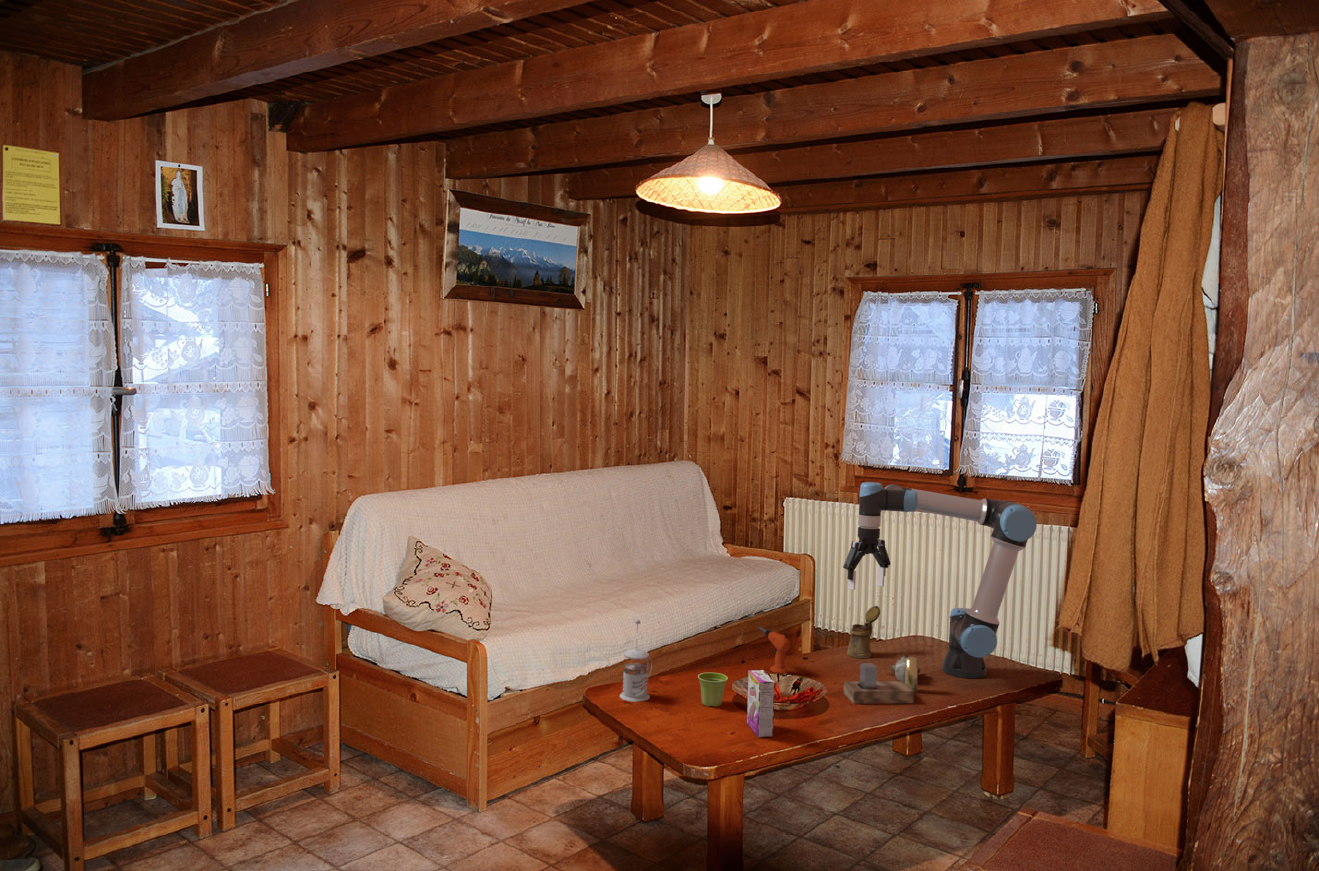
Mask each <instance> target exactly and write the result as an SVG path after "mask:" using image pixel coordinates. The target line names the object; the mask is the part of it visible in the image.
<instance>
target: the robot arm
mask: <svg viewBox="0 0 1319 871" xmlns="http://www.w3.org/2000/svg"><path fill="white" fill-rule="evenodd" d="M858 497H859V499H858V500H859V502H858V503H859V504H858V524H857V525H858V527H857V538H858V542H857V541H851V544H850V549H849V551H848V554H847V556H846V559H845V561H844V564H843V566H842V567H843V569H845V570H846V571H847V580H848V583H847V584H848V586H847V588H848V589H849V590H851V591H855V590H856V584H857V583H856V582H857V571H856V568H857V566H858V565H859V564H860V562H861V560H862V559H863V557H864V556H866V555H870V554H871V555H872V556H873V557H874V559H875V561H876V562H877V564H878V566H877V571H876V573H877V574H876V575H877V576H876V586H879V587H885V577H886V573H887V572H886V569H888V568H889V566H891V561H890V558H889V553H888V551H887V548H886V541H885V540H884V539H881V528H880V527H881V522H882V521H881V520H882V519H881V518H882V516H881V515H882V512H883V511H885V512H902V513H914V512H916V511H917V512H923V513H928V514H934V515H939V516H945V517H950V518H956V519H961V520H967V521H972V522H973V521H974V522H977V524H978V525H979V526H985V527H989V528H991V529H992V532H991V535H990V538H991V540H992V543H993V544H992V547H991V550H990V553H989V556H988V558H987V561H986V564H985V566H984V571H983V573H982V576H981V580H980V582H979V585H978V588H977V592H976V595H975V597H974V600H973V603H972V605H971V608H968V607H967V608H965V607H954V608H952V609H951V610H950V614H949V630H948V631H949V632H948V633H949V634H948V635H949V636H948V647H947V648H948V649H947V651H946V654H945V657H944V659H943V661H942V665H941V666H942V668H941V669H942V671H943V672H944V673H945V674H948V675H951V676H954V677H958V678H963V679H964V678H965V679H981V678H984V677H985V676H987V666H986V663H985V658H986V657H987V656H989V655H991V654H992V653H994V651H995V650H996V648H997V645H998V637H997V632H998V629H999V626H1000V624H1001V623H1000V621H999V619H998V615H999V611H1000V608H1001V605H1002V602H1003V599H1004V597H1005V593H1006V590H1007V587H1008V585H1009V582H1010V579H1011V577H1012V572H1013V571H1014V567H1015V564H1016V561H1017V558H1018V556H1019V552H1020V551H1021V550H1024V549H1025V548H1026V546H1027V543H1028V540H1029V539H1031V538H1032V537H1033V535H1034V534H1035V532H1036V531H1037V524H1038V523H1037V519H1036V516H1035V514H1034V513H1033V512H1032V511H1031V510H1030V509H1029V508H1028V507H1026V506H1025V505H1022V504H1020V503H1017V502H1015V501H1012V500H1006V499H1005V500H1003V499H1002V500H1000V499H990V498H982V499H980V500H979V499H974V498H967V497H962V496H957V495H949V494H945V493H941V492H940V493H939V492H933V491H928V490H921V489H918V488H917V489H916V488H909V487H905V486H900V485H898V484H889V485H887V486H885V487H883V484H882V483H880V482H872V481H865V482H864V481H863V482H861V484H860V490H859V496H858Z"/></svg>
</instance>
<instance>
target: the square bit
mask: <svg viewBox="0 0 1319 871" xmlns="http://www.w3.org/2000/svg"><path fill="white" fill-rule="evenodd" d="M859 672H860V673H859V681H860V688H861V689H876V681H878V680H877V678H878V666H877V665H876V664H874V663H873V662H867V663H866V662H865V663H864V662H861V663H860V670H859Z"/></svg>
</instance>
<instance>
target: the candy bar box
mask: <svg viewBox="0 0 1319 871" xmlns="http://www.w3.org/2000/svg"><path fill="white" fill-rule="evenodd" d="M747 676H748V677H747V678H748V679H747V710H746V712H747V713H746V725H747V726H748V727H749V728H750V729H751V730H752V731H753V733H754V734H755V735H756V737H757V738H772V737H774V716H775V714H774V712H775V686H776V682H775V681H774V680H773V679H772V677H770V675H769V674H768V673H767V672H766V671H765V670H763V669H754V670H748V675H747Z"/></svg>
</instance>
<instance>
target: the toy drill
mask: <svg viewBox="0 0 1319 871" xmlns="http://www.w3.org/2000/svg"><path fill="white" fill-rule="evenodd" d="M758 629H759V631H762V632H763V633H764V635H765V637H767V638H768V640H769V642H770V643H771V644H772V645H773V646H774V648H775V649H776V650H775V652H774V653H773V654H774V665H773V666H770V668H769V671H770V670H771V671H772V672H780V673H788V672H789V671H788V669H787V668H786V664H785V661H786V660H785V659H786V652H787V651H789V649H790V648H791V647H790V646H791V643H790V640H789V639H788V638H787V637H786V636H785V635H784V634H781V633H778V632H777V631H772V630H769V629H767V630H766V629H765V628H763V627H762V626H759V627H758ZM772 672H771V673H772Z"/></svg>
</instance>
